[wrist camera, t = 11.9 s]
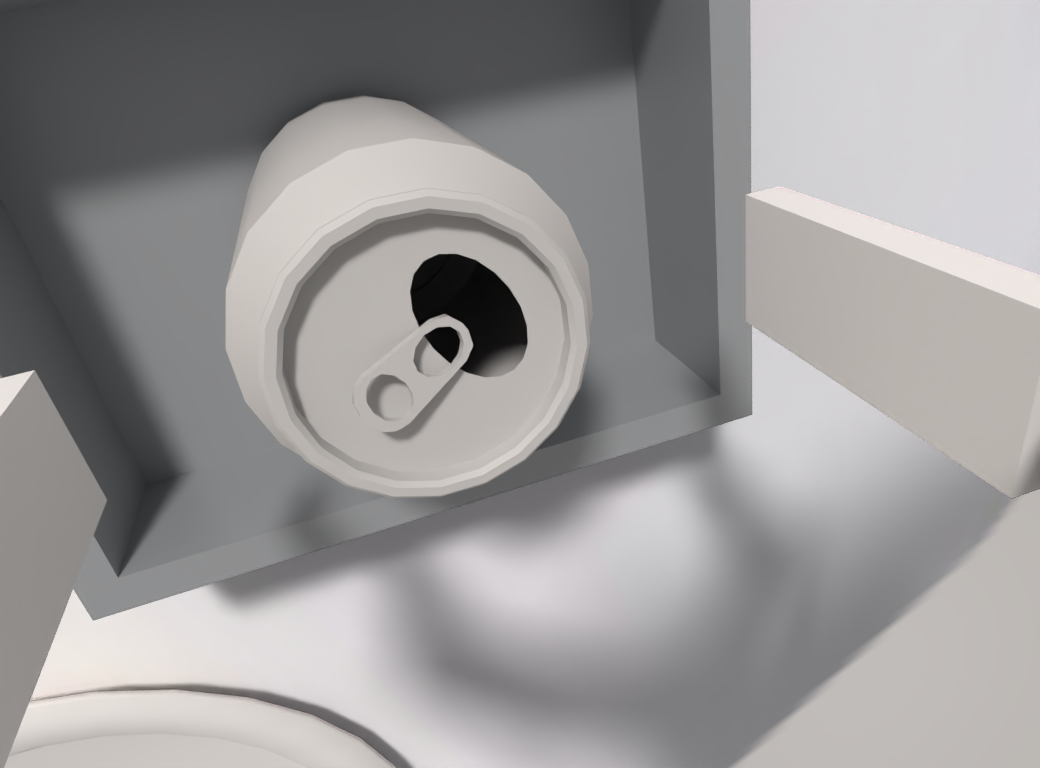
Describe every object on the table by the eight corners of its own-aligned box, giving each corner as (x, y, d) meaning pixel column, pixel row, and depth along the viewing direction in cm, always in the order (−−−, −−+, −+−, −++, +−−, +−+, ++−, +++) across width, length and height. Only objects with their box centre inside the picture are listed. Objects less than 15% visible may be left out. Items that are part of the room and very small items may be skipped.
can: (522, 231, 25) (687, 374, 15) (357, 364, 26) (407, 592, 15) (384, 38, 21) (477, 50, 11) (192, 197, 22) (109, 352, 11)
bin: (641, -138, 22) (749, -189, 17) (672, 349, 30) (752, 414, 25) (-147, -16, 18) (-317, -34, 13) (130, 505, 26) (92, 620, 21)
